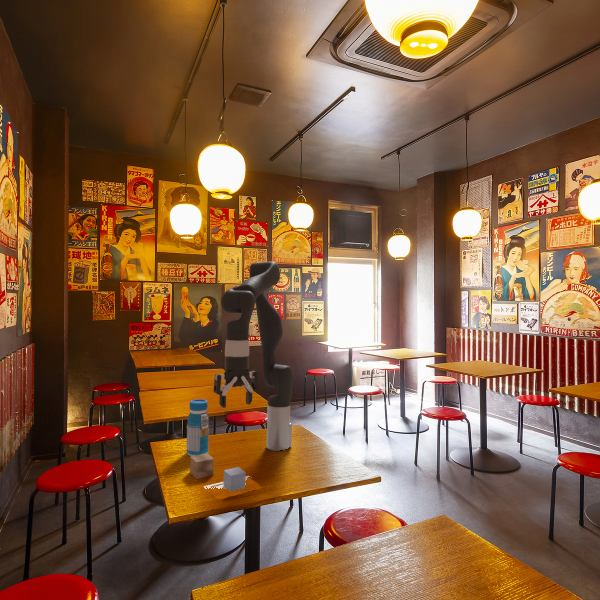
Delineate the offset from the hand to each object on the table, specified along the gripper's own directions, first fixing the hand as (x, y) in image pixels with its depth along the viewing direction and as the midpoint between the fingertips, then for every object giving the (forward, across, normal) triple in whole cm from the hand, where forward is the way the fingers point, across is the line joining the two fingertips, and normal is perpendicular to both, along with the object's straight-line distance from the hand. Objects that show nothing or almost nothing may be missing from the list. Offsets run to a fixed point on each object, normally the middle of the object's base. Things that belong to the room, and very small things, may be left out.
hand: (235, 405), depth 134 cm
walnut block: (+26, +5, -15) cm, 31 cm away
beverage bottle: (+26, -1, -35) cm, 44 cm away
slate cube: (+26, 0, 0) cm, 26 cm away
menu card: (+26, 0, 0) cm, 26 cm away
